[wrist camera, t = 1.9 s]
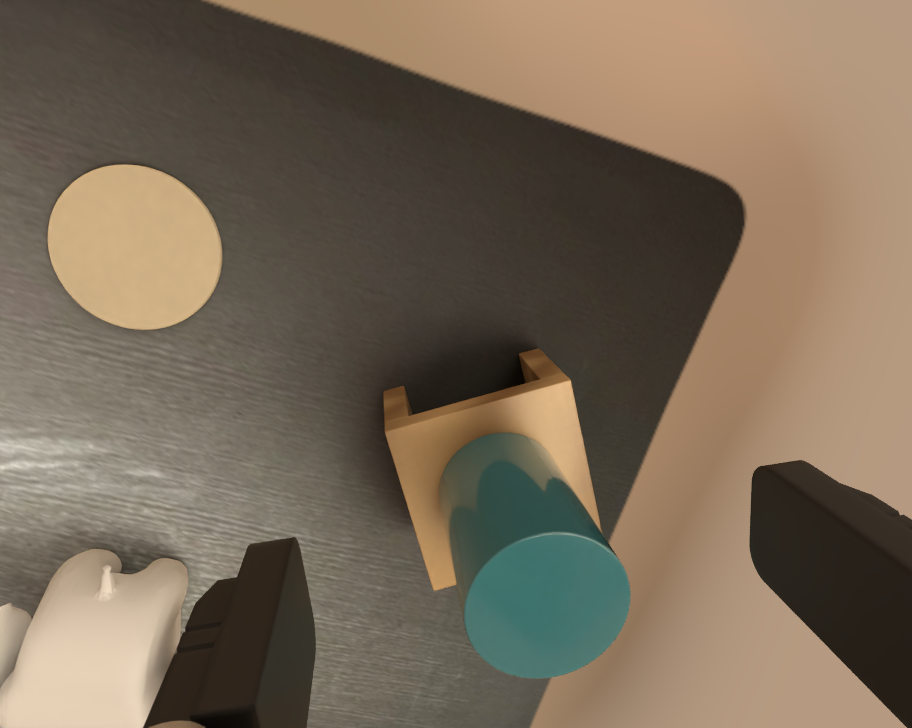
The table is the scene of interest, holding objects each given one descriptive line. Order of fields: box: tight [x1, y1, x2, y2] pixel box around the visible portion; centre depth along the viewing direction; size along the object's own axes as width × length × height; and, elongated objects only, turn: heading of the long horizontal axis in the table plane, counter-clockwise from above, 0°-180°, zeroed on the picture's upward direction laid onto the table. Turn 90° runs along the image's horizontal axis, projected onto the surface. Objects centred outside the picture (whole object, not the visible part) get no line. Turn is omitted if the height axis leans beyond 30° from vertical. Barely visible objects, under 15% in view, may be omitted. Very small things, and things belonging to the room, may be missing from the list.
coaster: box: [48, 164, 222, 330], centre depth 31 cm, size 8×8×1 cm
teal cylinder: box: [438, 433, 630, 679], centre depth 26 cm, size 6×6×9 cm
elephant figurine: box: [0, 549, 188, 728], centre depth 32 cm, size 10×12×9 cm
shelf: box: [383, 348, 602, 591], centre depth 34 cm, size 9×9×6 cm
